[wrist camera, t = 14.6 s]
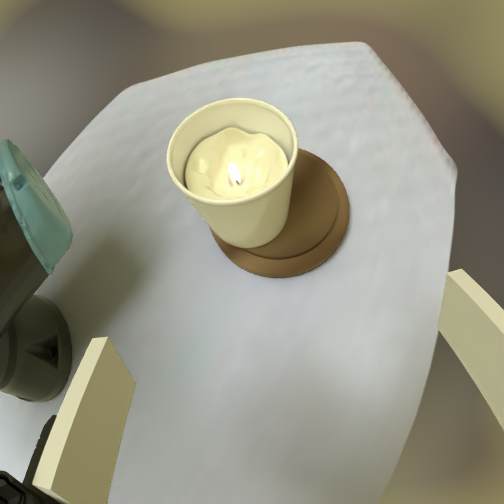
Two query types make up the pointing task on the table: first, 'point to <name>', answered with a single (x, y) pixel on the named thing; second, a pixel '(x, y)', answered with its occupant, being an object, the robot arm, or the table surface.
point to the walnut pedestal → (300, 224)
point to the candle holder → (236, 168)
